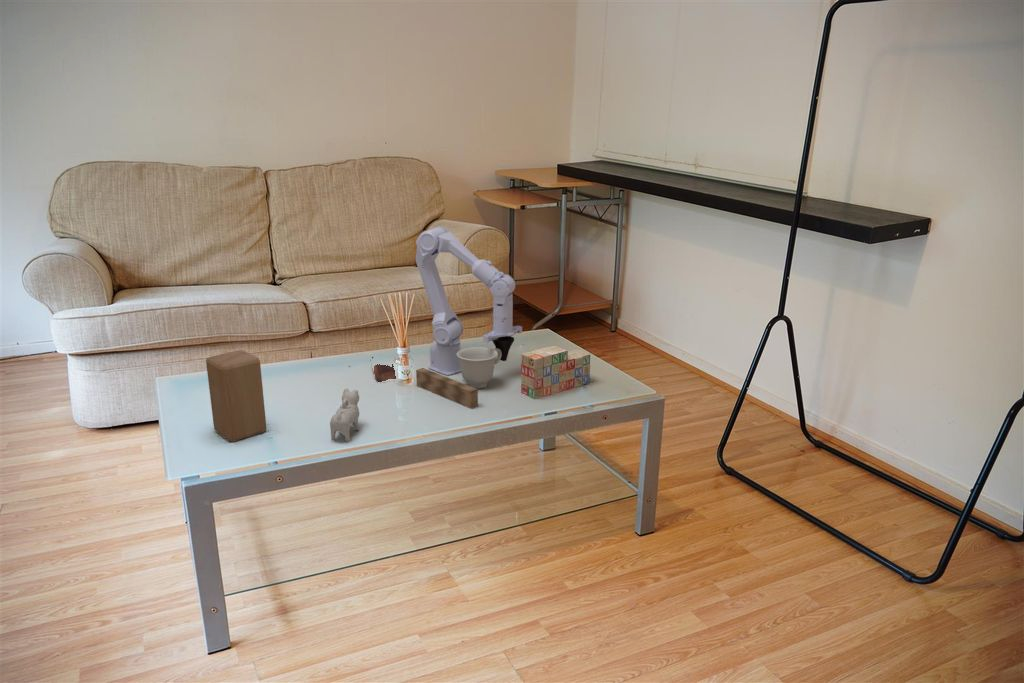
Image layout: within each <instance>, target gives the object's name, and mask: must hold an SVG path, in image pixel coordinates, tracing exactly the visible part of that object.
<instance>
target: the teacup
mask: <svg viewBox="0 0 1024 683" xmlns="http://www.w3.org/2000/svg"><path fill="white" fill-rule="evenodd" d="M457 356H458V357H459V360H460V366H461V376H462V378H463V381H465V382H466V383H467V385H468V386H471V387H473V388H476V389H478V390H479V389H484V388H486V387H487V386H488V382H489V381H491V380H492V378H493V377H494V370H495V365H497V364H498V363H499V362H500V361H501V360H500V359H501V356H502V353H501V350H500V349H498V348H496V347H495V348H490V347H488V346H487V347H485V346H471V347H465V348H462V349H461V348H460V351H458V352H457Z"/></svg>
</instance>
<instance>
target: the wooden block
mask: <svg viewBox="0 0 1024 683" xmlns="http://www.w3.org/2000/svg"><path fill="white" fill-rule="evenodd" d="M205 364H206V371H207V372H206V373H207V374H206V375H207V381H208V389H209V396H210V404H211V406H210V407H211V415H212V420H213V421H212V423H213V429H214V432H216V433H217V434H218V435H220V436H222V437H223V438H224V439H226V440H227V441H229V442H236V441H239V440H243V439H246V438H250V437H252V436H256V435H259V434H261V433H265V432H266V431H267V420H266V409H265V408H266V407H265V398H264V388H263V387H264V386H263V377H262V371H261V370H262V368H261V360H260V358H259V357H257V356H256V355H253V354H252V353H249V352H247V351H245V350H243V349H238V350H235V351H231V352H226V353H221V354H217V355H212V356H209V357H206V359H205Z"/></svg>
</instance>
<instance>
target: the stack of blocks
mask: <svg viewBox="0 0 1024 683" xmlns="http://www.w3.org/2000/svg"><path fill="white" fill-rule="evenodd" d="M520 367H521V368H520V375H521V378H520V379H521V382H520V383H521V385H520V389H521V390H520V393H521V394H523V395H524V394H525V395H524V396H527V397H528V398H531V399H533V400H537V399H541V398H544V397H548V396H551V395H555V394H558V393H561V392H565V391H568V390H571V389H574V387H575V388H579V387H581V385H582V386H585V385H588V384H587V383H589V384H590V382H591V380H590V378H591V354H590V353H587V352H585V351H582V350H579V349H573V350H567V349H565V348H563V347H562V348H561V347H559V346H556V345H551V346H547V347H543V348H540V349H535V350H532V351H526V352H523V353H521V363H520ZM584 384H585V385H584ZM567 389H568V390H567Z"/></svg>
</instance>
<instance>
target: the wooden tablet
mask: <svg viewBox="0 0 1024 683" xmlns="http://www.w3.org/2000/svg"><path fill="white" fill-rule="evenodd" d="M393 367H394V366H393V364H392V367H390V366H388V365H387V366H386V365H380V364H379V365H378V364H377V365H375V366H374V372H373V375H375V376H374V379H375V381H376V382H377V381H378V382H382V381H386V380H388V379H396V376H395V370H394V368H393ZM378 382H377V383H378Z"/></svg>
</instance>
